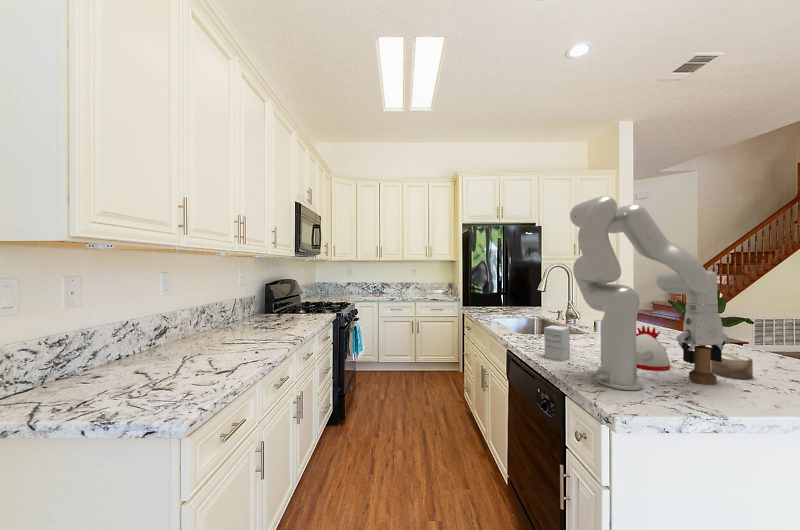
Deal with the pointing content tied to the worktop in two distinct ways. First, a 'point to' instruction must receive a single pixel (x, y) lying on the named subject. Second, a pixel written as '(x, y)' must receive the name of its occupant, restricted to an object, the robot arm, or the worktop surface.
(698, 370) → the brown wooden turned piece
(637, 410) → the worktop surface
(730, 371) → the display pedestal
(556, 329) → the supplement box
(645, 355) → the kitchen timer
